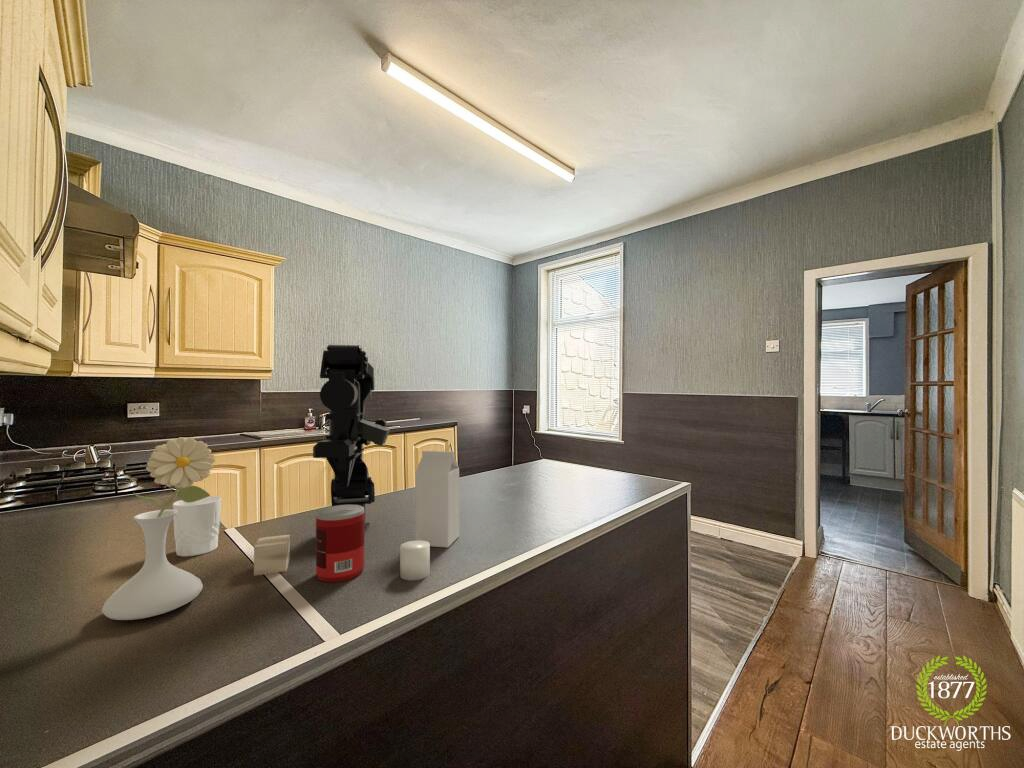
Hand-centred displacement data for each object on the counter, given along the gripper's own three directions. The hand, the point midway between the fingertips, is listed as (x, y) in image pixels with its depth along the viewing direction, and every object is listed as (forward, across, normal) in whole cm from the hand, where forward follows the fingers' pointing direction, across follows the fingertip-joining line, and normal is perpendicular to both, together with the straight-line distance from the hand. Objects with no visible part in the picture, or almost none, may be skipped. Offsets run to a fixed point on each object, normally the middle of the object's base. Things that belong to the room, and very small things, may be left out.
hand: (344, 487), depth 85 cm
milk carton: (+13, +4, -18) cm, 23 cm away
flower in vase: (+13, -19, +21) cm, 31 cm away
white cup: (+13, +5, +30) cm, 33 cm away
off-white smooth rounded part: (+13, -12, -15) cm, 23 cm away
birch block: (+13, -6, +11) cm, 18 cm away
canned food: (+13, -10, -2) cm, 17 cm away
